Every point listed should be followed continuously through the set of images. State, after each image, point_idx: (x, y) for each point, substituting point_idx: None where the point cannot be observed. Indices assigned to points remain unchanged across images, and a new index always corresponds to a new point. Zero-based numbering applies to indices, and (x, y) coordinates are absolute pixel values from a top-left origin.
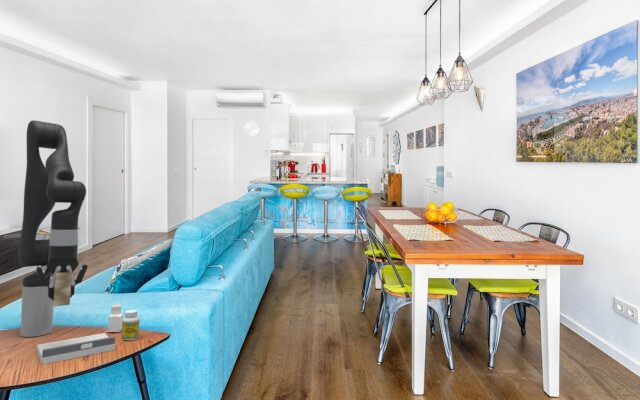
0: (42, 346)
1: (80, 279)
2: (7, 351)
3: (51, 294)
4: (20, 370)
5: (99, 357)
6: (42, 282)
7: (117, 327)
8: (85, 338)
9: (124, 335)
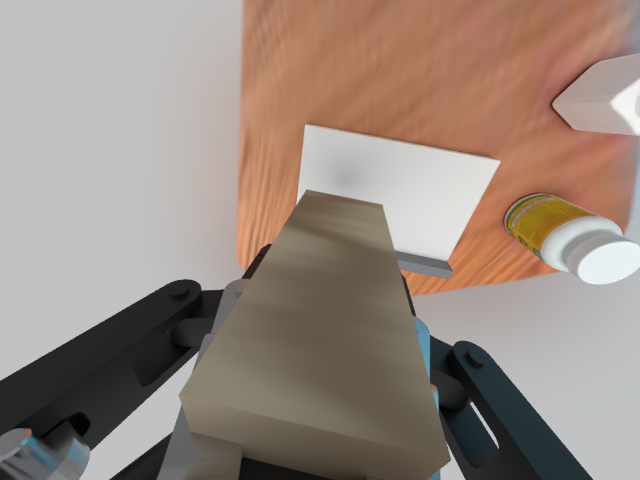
0: (312, 155)
1: (453, 416)
2: (246, 52)
3: None
4: (259, 228)
5: None
6: (164, 351)
7: (585, 127)
8: (425, 173)
9: (511, 228)
